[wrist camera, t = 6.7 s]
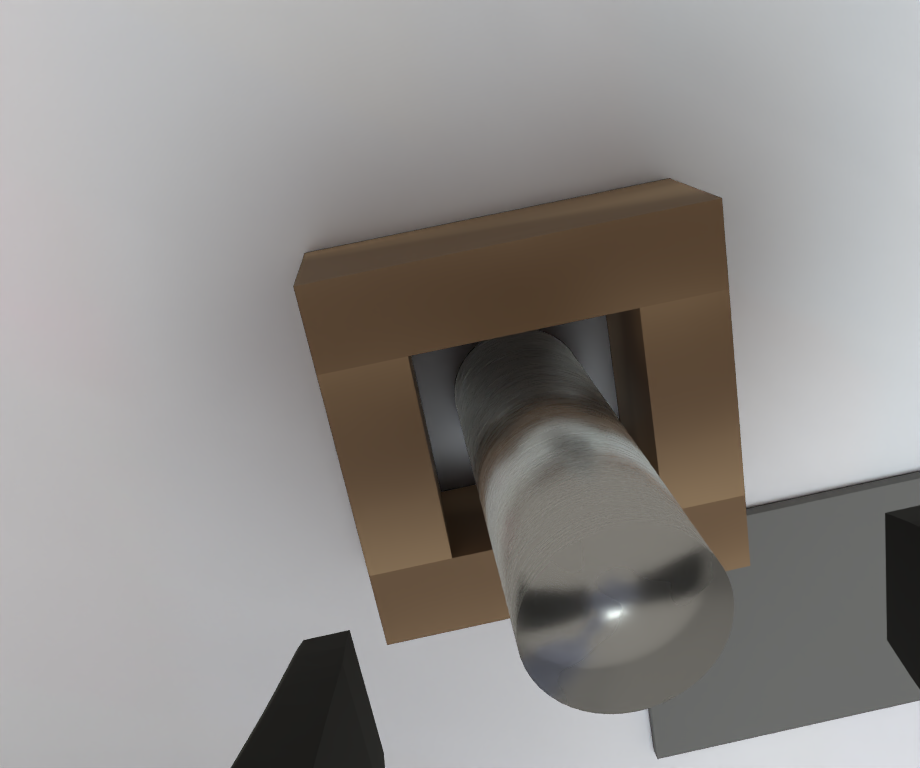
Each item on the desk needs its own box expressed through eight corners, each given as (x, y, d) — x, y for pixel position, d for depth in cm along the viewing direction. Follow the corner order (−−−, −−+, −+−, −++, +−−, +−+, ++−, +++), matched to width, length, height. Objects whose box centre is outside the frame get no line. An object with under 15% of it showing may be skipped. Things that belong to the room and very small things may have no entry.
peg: (596, 427, 21) (751, 675, 12) (475, 465, 21) (548, 739, 12) (564, 311, 20) (711, 495, 11) (437, 352, 20) (489, 566, 11)
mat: (931, 688, 24) (938, 696, 24) (654, 750, 24) (657, 759, 24) (933, 468, 22) (941, 473, 22) (624, 535, 22) (628, 541, 22)
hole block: (701, 500, 22) (750, 565, 19) (384, 569, 21) (387, 645, 19) (669, 178, 19) (721, 198, 16) (304, 253, 19) (293, 286, 16)
